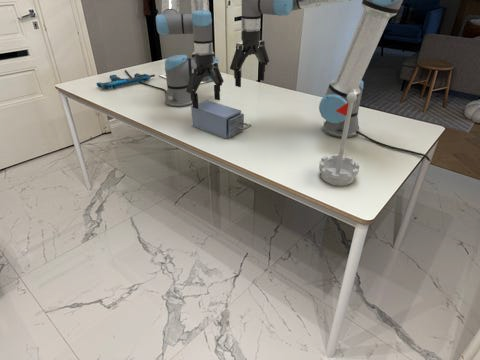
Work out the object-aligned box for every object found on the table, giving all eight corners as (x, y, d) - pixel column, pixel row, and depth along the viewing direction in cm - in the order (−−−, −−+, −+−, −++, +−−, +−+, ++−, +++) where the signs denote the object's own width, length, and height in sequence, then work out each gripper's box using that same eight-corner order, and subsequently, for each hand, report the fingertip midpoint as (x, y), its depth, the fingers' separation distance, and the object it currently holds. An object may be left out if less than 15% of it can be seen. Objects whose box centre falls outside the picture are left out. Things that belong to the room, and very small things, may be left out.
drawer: (254, 134, 145) (254, 117, 141) (240, 141, 139) (240, 124, 135) (212, 119, 158) (211, 103, 154) (198, 125, 152) (197, 109, 148)
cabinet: (241, 130, 150) (241, 110, 145) (226, 138, 143) (225, 117, 138) (208, 119, 161) (207, 99, 156) (192, 126, 154) (190, 106, 149)
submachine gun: (140, 68, 226) (159, 74, 209) (142, 73, 228) (160, 80, 211) (89, 77, 207) (104, 85, 190) (90, 84, 209) (106, 92, 192)
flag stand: (341, 164, 125) (356, 83, 108) (364, 182, 115) (385, 96, 98) (310, 171, 121) (321, 88, 105) (331, 190, 111) (347, 102, 94)
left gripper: (217, 47, 148) (219, 94, 159) (174, 57, 132) (179, 109, 143) (230, 49, 144) (231, 98, 155) (187, 60, 127) (192, 113, 139)
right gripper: (266, 25, 143) (264, 75, 155) (220, 32, 129) (221, 87, 141) (279, 27, 139) (276, 79, 150) (233, 35, 125) (233, 91, 136)
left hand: (206, 103), depth 149 cm, fingers open, 13 cm apart
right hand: (249, 83), depth 146 cm, fingers open, 13 cm apart
